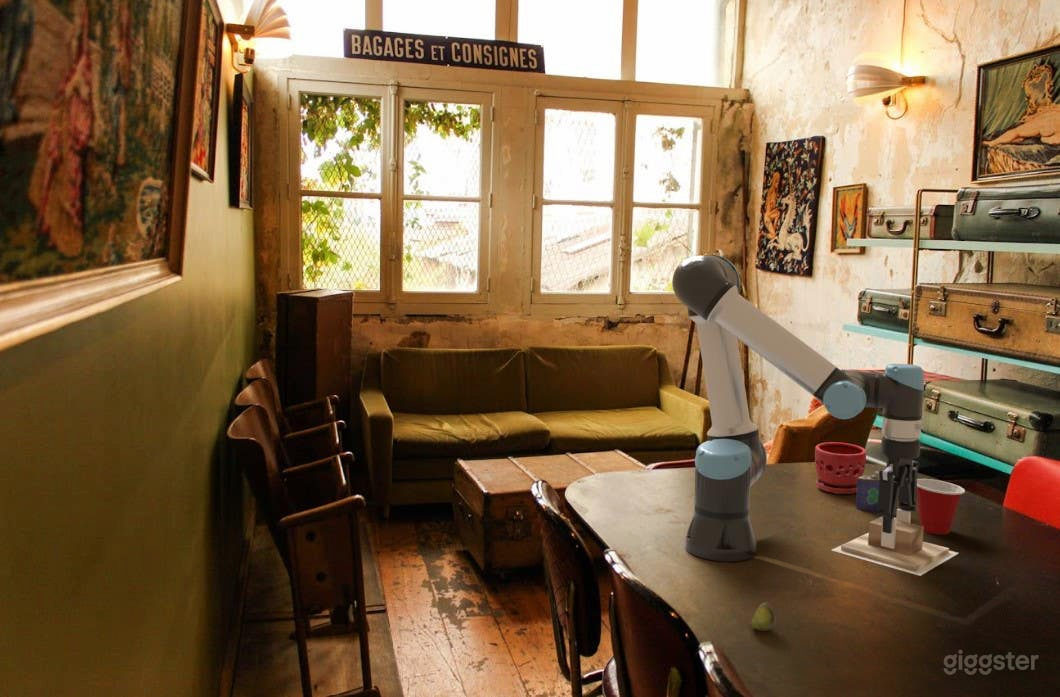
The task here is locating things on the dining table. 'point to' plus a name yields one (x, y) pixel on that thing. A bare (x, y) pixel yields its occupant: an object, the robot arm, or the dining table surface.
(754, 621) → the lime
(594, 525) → the dining table surface
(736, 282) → the robot arm
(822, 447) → the plant pot
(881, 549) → the lid
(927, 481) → the plastic cup
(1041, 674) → the dining table surface
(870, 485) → the flask
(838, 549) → the mat
